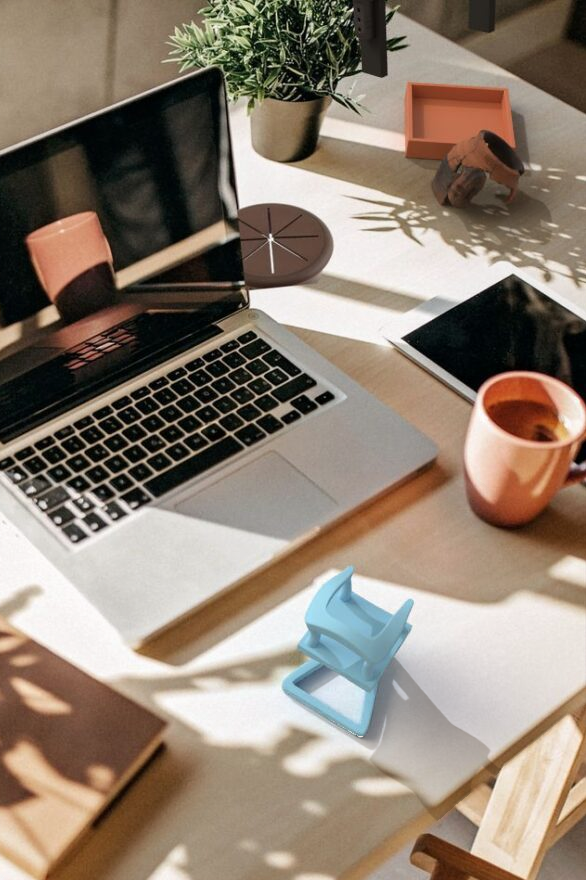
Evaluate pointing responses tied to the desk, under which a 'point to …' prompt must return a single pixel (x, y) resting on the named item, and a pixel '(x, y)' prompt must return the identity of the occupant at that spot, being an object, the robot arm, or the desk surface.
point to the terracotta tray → (453, 117)
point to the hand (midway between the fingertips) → (429, 51)
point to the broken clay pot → (476, 169)
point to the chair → (348, 644)
